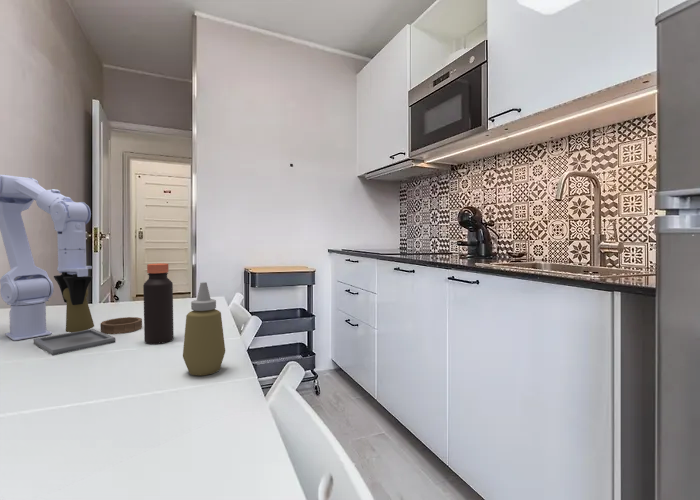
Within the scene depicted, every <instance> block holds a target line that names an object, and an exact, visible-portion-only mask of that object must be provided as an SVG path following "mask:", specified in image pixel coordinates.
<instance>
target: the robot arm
mask: <svg viewBox="0 0 700 500" xmlns="http://www.w3.org/2000/svg"><path fill="white" fill-rule="evenodd" d="M34 201H35V202H36V205H37V206H38V208H39V209H40V210H42V211H44V212H46V213H47V214H49V215H50V218H51V221H52V222H53V225H54V226H53V229H54V230H55V232H56V234H57V237H56V238H57V239H56V240H57V272H58V274H60V275H54V276H53V279H54V280H55V281H56V283H57V285H58V286H59V289H60V292H61V296H62V300H63V302H64V303H66V304H67V301H66V300H65V299H64V297H63V291H64V289H66V288H68V289H69V293H70V299H71V303H72V305H79V304H83V302H84V298H85V294H86V290H87V289H88V288H89V285H90V284H91V281H92V280H93V276H91V275H89V270H92V269H93V266H92V265H87V240H86V239H87V237H86V235H87V234H86V230H87V229H86V225H87V224H88V223H89V222H90V221H91V217H92V216H91V215H92V213H91V212H92V211H91V208H90V206H89V205H88V204H86V202H84V201H79V202H78V201H77V202H76V201H74V200H73V199H72V198H71V197H69V196H65V195H63V194H62V193H61V190H59V189H57V188H56V189H54V188H52V189H45V188H44V187H43V186H42V185H40V184H39V180H37V179H35V178H33V177H24V176H16V175H8V174H0V234H1V237H2V242H3V245H4V246H3V247H4V249H5V254H6V256H7V260H8V265H9V268H10V270H8V271H7V272H6V273H5V274H3V275H2V276H1V277H0V297H1V299H2V300H3V302H5V304H6V305H9V306H10V310H9V332H5V336H7V337H8V338H10V339H11V340H12V341H19V340H25V339H31V338H39V337H45V336H51V335H53V334H52V331H50V330H48V329H47V312H46V311H47V307H46V302H49V299H50V298H51V297H53V294H54V292H55V291H54V289H55V287H54V283H53V282H52V281H53V280H52V279H50V276H49V275H48V272H47V270H45V269H43V268H41V267H38V266H37V265H36V264H35V259H34V256H33V253H32V249H31V246H30V242H29V238H28V234H27V231H26V228H25V224H24V221H23V215H22V212H23V211H26V210H29V209H30V207H31V206H32V204H33V202H34Z"/></svg>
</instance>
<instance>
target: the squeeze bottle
mask: <svg viewBox="0 0 700 500" xmlns="http://www.w3.org/2000/svg"><path fill="white" fill-rule="evenodd" d="M196 297H197V298H196V299H193V300H192V301H191V302H190V306H191V308H190V309H191V311H189V312H188V313H187V314H186V315H185V317H186V318H185V328H184V338H183V347H182V348H183V349H182V359H183V361H184V363H185V366H186V368H187V371H188V373H189V375H192V376H200V377H201V376H208V375H212V374H215V373H217V372H218V371H220V370H221V366H222V364H223V361H224V357H225V354H226V344H225V336H224V327H223V320H222V312H221V311H220V310H218V309H217V300H216V299H212V298H211V295H210V291H209V286H208V283H207V282H205V281H203V282H200V284H199V288H198V293H197V296H196Z"/></svg>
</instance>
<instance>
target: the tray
mask: <svg viewBox="0 0 700 500" xmlns="http://www.w3.org/2000/svg"><path fill="white" fill-rule="evenodd" d="M114 343H116V337H114V336H112V335H111V334H105V333H102V332H101V330H100V331H99V330H97V329H94V328H91V329H88V330H84V331H79V332H65V333H61V334H60V333H59V334H54V335H53V334H52V335H47V336H41V337H35V338H33V345H35V346H36V347H38V348H40V349H41V350H43V351H44V352H46V353H48V354H49V355H51V356H55V355H60V354H65V353H70V352H75V351H79V350H84V349H90V348H95V347H99V346H104V345H108V344H109V345H110V344H114Z"/></svg>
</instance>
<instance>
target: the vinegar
mask: <svg viewBox="0 0 700 500" xmlns="http://www.w3.org/2000/svg"><path fill="white" fill-rule="evenodd" d="M146 269H147V270H146V271H147V276H148V279H147V280H146V281H145V282H144V283H143V285H142V286H143V287H142V288H143V330H144V331H143V334H144V335H143V336H144V337H143V338H144V343H146V344H147V345H159V344H165V343H169V342H171V341H173V340H174V337H175V336H174V334H175V333H174V298H173V297H174V294H173V293H174V289H173V288H174V287H173V282H172V280H170V278H168V275H169V263H164V262H163V263H148V264H146Z"/></svg>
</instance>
